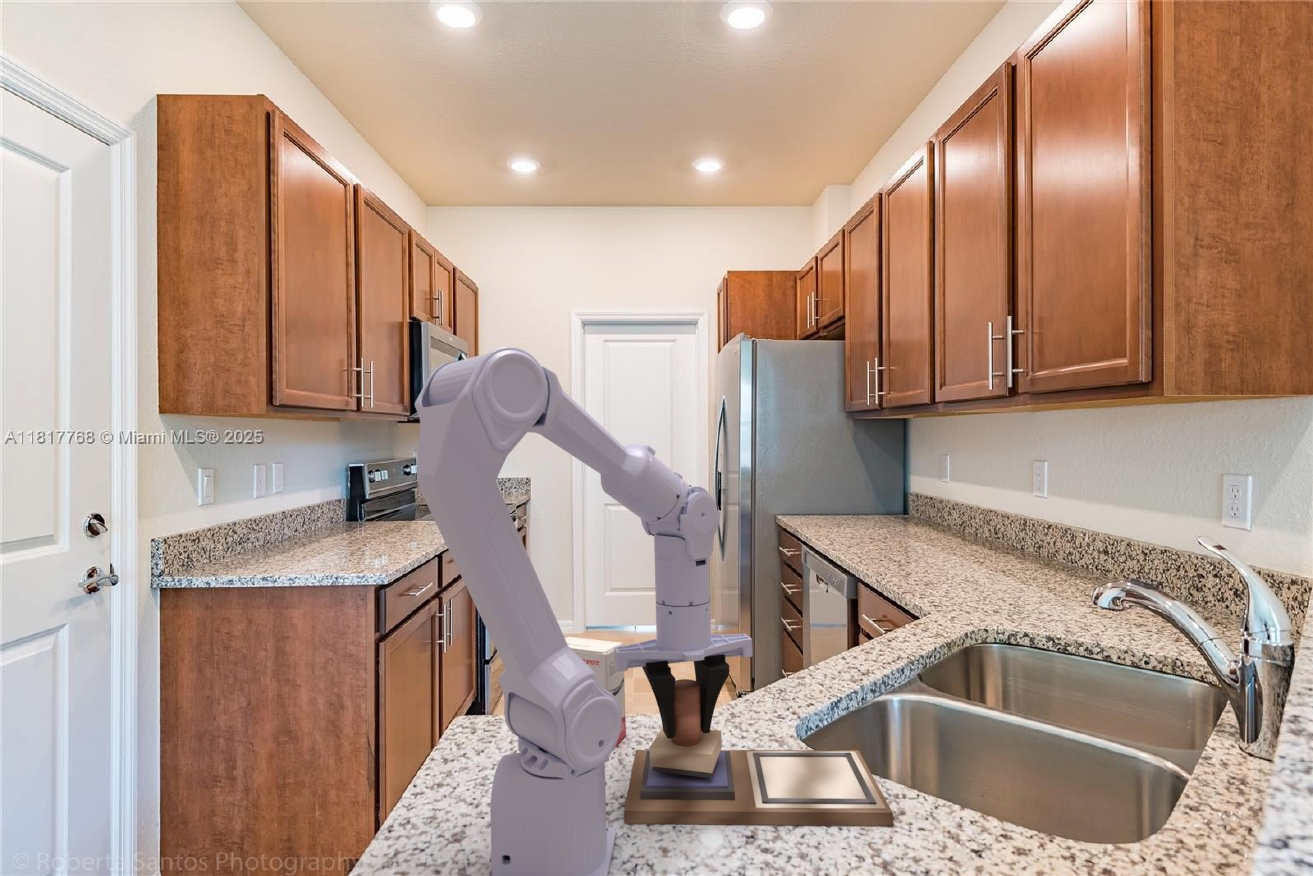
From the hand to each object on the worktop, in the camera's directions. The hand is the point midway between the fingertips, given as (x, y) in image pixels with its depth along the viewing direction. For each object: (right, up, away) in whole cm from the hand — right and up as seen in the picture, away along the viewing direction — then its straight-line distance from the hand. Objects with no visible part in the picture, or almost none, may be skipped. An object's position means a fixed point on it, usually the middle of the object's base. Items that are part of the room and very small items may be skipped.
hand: (686, 731), depth 64 cm
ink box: (-12, -7, +12) cm, 18 cm away
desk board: (+7, -6, -1) cm, 9 cm away
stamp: (0, -3, 0) cm, 3 cm away
